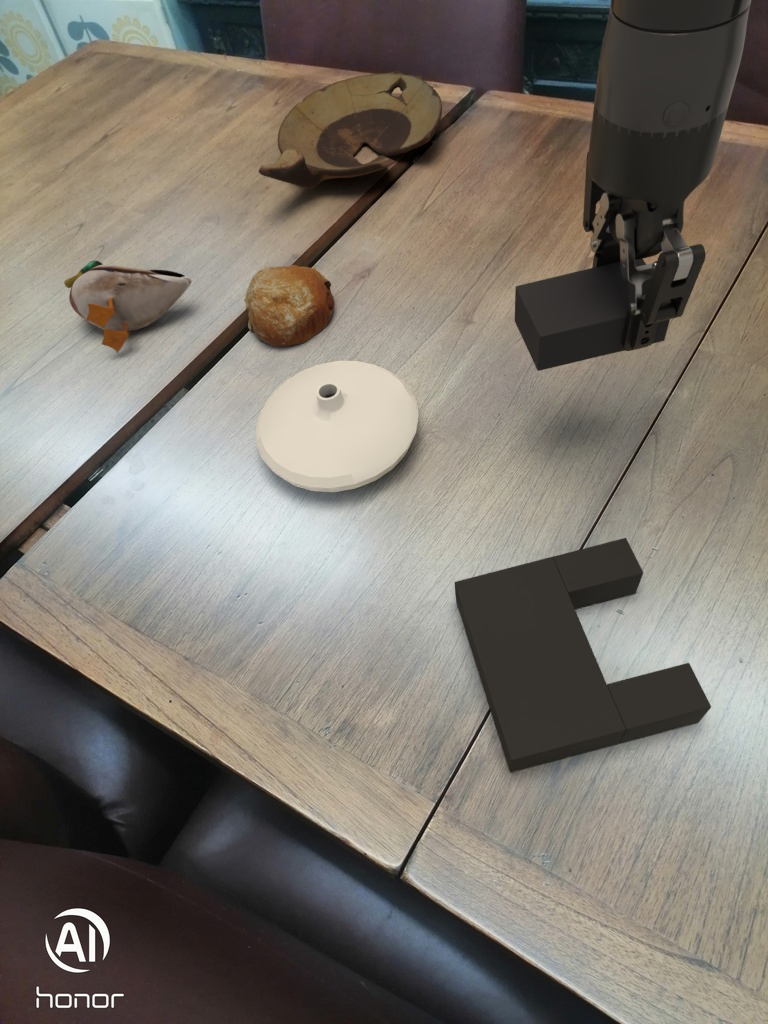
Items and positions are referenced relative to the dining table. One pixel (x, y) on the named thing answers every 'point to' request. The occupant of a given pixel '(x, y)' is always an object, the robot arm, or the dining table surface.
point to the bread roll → (288, 304)
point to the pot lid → (337, 426)
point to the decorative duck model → (123, 297)
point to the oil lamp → (354, 127)
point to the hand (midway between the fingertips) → (619, 317)
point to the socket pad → (564, 659)
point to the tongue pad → (576, 315)
